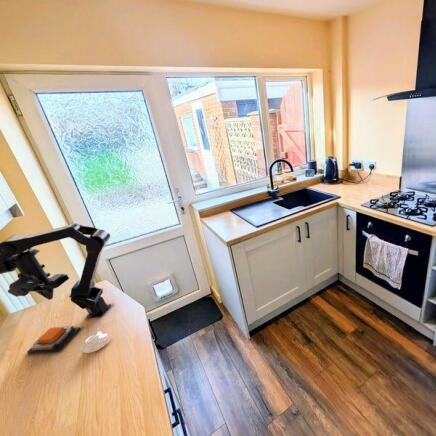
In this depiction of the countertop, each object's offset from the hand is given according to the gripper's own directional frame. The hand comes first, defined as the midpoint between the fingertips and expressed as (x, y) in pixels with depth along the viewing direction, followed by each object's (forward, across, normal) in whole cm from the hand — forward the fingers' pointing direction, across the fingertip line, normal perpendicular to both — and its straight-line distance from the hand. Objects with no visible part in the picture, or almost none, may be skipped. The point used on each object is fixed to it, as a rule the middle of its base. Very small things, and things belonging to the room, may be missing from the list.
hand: (50, 299), depth 98 cm
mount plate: (+12, +5, -10) cm, 16 cm away
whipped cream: (+12, +24, -13) cm, 30 cm away
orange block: (+11, +5, -10) cm, 16 cm away
